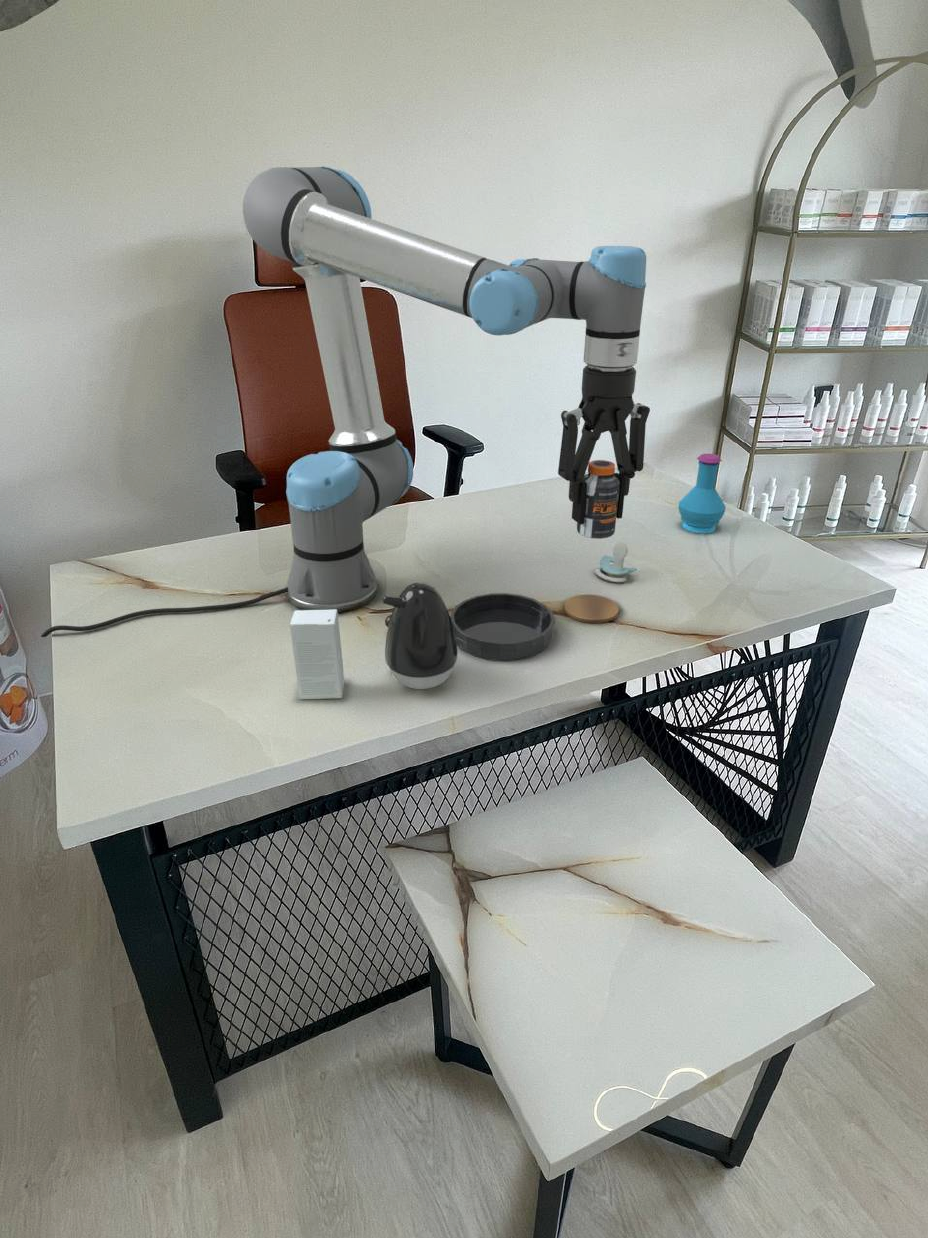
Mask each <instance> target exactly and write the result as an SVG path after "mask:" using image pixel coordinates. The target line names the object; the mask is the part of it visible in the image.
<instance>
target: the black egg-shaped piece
mask: <svg viewBox="0 0 928 1238" xmlns="http://www.w3.org/2000/svg"><path fill="white" fill-rule="evenodd" d="M381 602H382V604H384V605H387V606H391V607H393V609H392V613H391V614H390V615H391V618H390V622H389V626H388V627H387V630H386V638H385V645H384V646H385V647H384V660H385V663H386V665H387V667H388V668H389V671H390V672H391V674H392V676H393V677H394V679H395V680H396V681H397V682H398V683H399V684H401V685H402V686H405V687H407V688H410V689H412V690H413V689H414V690H428V689H432V688H435V687H437V686H440V685H441V684H443V683H445V681H447V679H448V678H449V677H450V676H451V674H452V672H453V670H454V667H455V665H456V663H457V660H458V647H457V644H456V638H455V632H454V628H453V624H452V621H451V618H450V613H449V612H450V611H448V608H447V605H446V604H445V601H444V599H443V597H442V596H441V595H440V593H439V592H438V590H437V588H435V587H434V586H432V585H431V584H429V583H427V582H413V583H411V584H409V585H407V586H405V588H404V589H403V590H402V592H401V593H400V595H399V596H390V595H384V596H383V597H382V599H381Z"/></svg>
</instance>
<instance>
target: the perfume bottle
mask: <svg viewBox="0 0 928 1238" xmlns="http://www.w3.org/2000/svg"><path fill="white" fill-rule="evenodd" d="M696 459H697V460H698V470H697V477H696V481H695V482H696V483H695V486H693V488H692V489H690V491H689V492H687V494H686V495H685V496H683V498H681V499H680V500H679V502H678V511H679V515H680V520H681V521H682V523H681V525H682V528H683V530H686V531H688V532H690V533H695V534H710V533H714V532H715V531H716V529H717V527H716V526H717V525H718V524H719V523H720V521H721V519H722V518H723V516H724V515H725V512H726V505H725V503H724V501H723V500H722V497H721V496H720V494H719V493H718V491H717V489H716V487H715V485H716V479H717V473H718V468H719V465H720V463H721V462H722V459H721V457H720V456H719V455H718V454H716V453H715V454H714V453H702V454H700V455H699V456H698V457H697V458H696Z"/></svg>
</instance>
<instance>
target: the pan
mask: <svg viewBox="0 0 928 1238" xmlns="http://www.w3.org/2000/svg"><path fill="white" fill-rule="evenodd" d="M449 615H450V617H451V621H452V624H453V628H454V632H455V638H456V644H457V648H458V649H460V650H461V651H462V652H464V653H467V654H468V655H470V656H473V657H476V658H479V659H484V660H491V661H502V662H506V661H507V662H509V661H510V662H511V661H519V660H524V659H525V660H526V659H529V658H531V657H534V656H537V655H539V654H541V653H543V652H545V651H546V650H547V649H548V648H549V647H550V646H551V644H552V643H553V640H554V637H555V630H556V629H555V626H556V619H555V615H554V612H553V611H552V610H551V608H549V607H548V605H546V604H544V603H543V602H541V601H540V600H537V599H536V598H532V597H529V596H525V595H522V594H515V593H509V592H507V593H506V592H494V593H491V592H490V593H486V594H479V595H475V596H471V597H470V598H466V599H463V600H462V601H461V602H459V603H458V604H457V605H455V606H454V608H453V609H452V611H451V612H450V613H449Z"/></svg>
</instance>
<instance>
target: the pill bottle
mask: <svg viewBox="0 0 928 1238" xmlns="http://www.w3.org/2000/svg"><path fill="white" fill-rule="evenodd" d="M615 470H616V464H615V463H614V462H613V461H611V460H605V459H594V460H590V461H589V464H588V467H587V474H586V473H585V475H584V478H583V481H585V482H586V483H587V493H586V506H585V519H584V524H579V523H577V522H576V531H577V533H578V534H579V535H580V536H581V537H584V538H587V539H594V540H604V539H608V538H611V537H612V536H613V535H615V531H616V523H617V518H616V515H617V506H618V497H619V487H620V482H619V479H618V478H617V477H616V476H614V473H616V471H615Z"/></svg>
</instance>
